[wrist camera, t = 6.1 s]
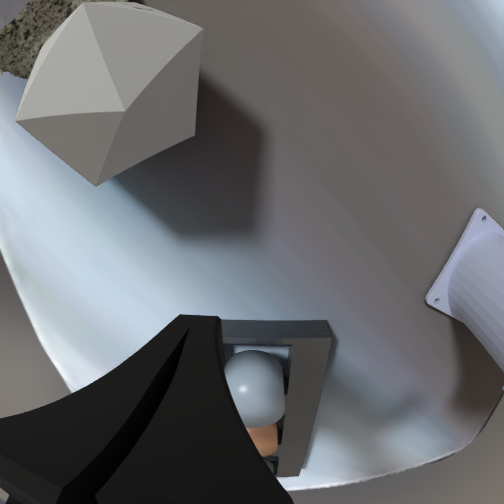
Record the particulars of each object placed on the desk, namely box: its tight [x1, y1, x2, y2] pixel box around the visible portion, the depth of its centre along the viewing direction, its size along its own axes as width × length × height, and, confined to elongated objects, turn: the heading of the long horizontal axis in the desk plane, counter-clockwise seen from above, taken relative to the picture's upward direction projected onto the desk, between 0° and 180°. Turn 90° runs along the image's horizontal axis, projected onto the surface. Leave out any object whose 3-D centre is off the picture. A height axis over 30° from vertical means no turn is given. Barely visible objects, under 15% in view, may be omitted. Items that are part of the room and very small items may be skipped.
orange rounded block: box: [246, 422, 277, 457], centre depth 22 cm, size 4×4×4 cm
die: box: [15, 2, 203, 187], centre depth 11 cm, size 8×9×10 cm
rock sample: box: [0, 0, 129, 79], centre depth 11 cm, size 10×8×9 cm
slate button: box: [224, 350, 285, 428], centre depth 17 cm, size 4×4×4 cm
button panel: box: [221, 319, 332, 477], centre depth 23 cm, size 21×10×2 cm, turn 0°
